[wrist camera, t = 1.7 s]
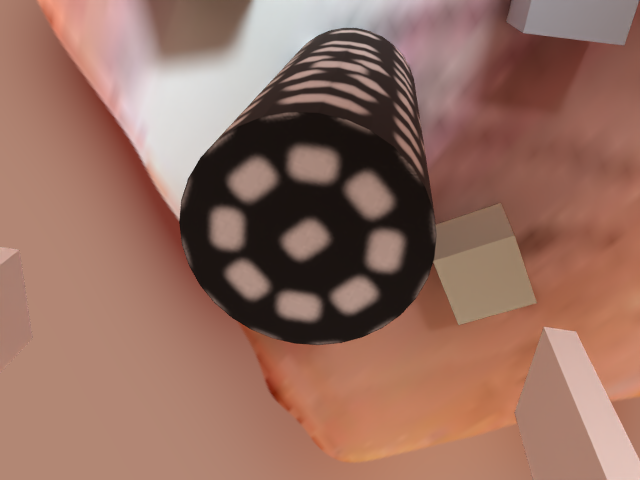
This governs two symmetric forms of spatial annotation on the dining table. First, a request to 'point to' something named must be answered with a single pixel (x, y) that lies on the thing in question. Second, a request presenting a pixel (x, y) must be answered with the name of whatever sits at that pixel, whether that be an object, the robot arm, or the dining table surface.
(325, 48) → the spotted tube
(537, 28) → the dusty blue block
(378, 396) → the dining table surface
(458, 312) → the sage block
